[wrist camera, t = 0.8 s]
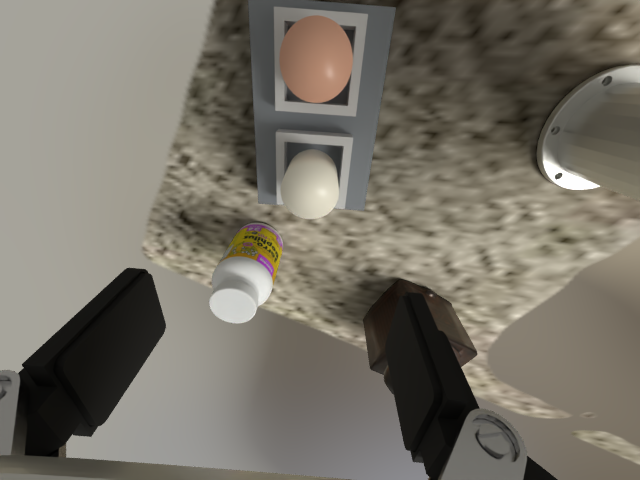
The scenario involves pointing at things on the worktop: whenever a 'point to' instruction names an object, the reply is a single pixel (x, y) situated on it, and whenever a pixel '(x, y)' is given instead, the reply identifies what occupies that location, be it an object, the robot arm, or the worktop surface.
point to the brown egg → (316, 59)
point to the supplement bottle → (246, 273)
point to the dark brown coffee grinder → (382, 317)
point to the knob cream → (310, 185)
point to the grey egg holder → (318, 118)
